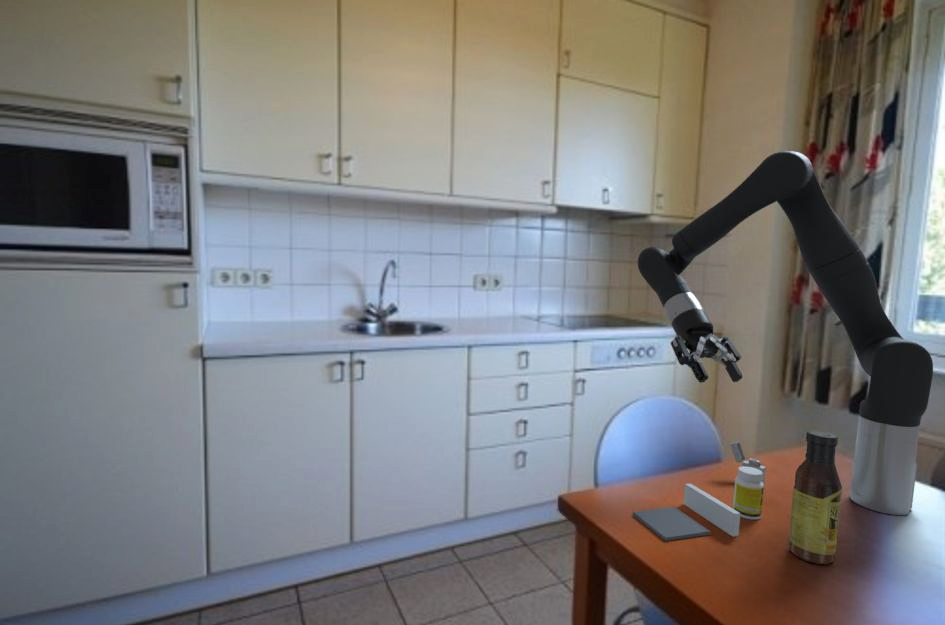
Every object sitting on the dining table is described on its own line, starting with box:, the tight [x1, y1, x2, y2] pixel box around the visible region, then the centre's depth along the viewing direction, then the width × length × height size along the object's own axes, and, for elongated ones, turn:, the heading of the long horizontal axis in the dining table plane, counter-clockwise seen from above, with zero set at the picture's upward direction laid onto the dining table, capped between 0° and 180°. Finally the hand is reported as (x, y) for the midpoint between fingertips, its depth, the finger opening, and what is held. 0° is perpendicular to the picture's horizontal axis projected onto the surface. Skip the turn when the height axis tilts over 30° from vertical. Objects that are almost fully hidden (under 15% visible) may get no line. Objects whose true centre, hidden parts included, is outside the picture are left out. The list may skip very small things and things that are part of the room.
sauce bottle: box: [788, 429, 843, 565], centre depth 79 cm, size 7×6×20 cm
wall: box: [683, 483, 741, 538], centre depth 91 cm, size 1×12×4 cm, turn 17°
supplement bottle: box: [732, 466, 765, 520], centre depth 93 cm, size 5×5×8 cm
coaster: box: [632, 506, 711, 542], centre depth 88 cm, size 9×9×1 cm
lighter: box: [729, 441, 767, 485], centre depth 108 cm, size 7×2×8 cm, turn 36°
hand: (721, 380), depth 102 cm, fingers open, 8 cm apart
